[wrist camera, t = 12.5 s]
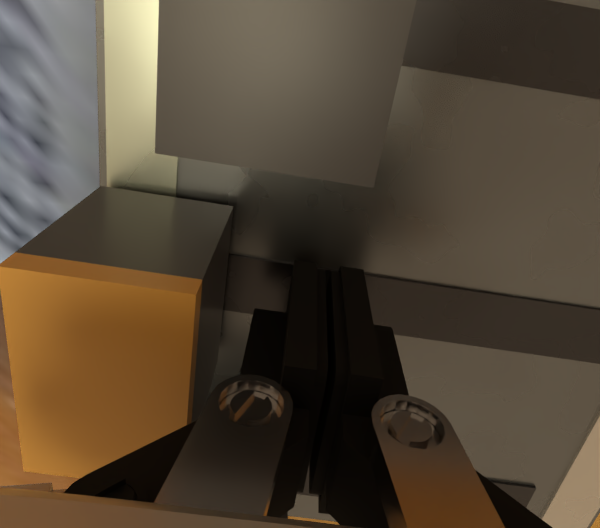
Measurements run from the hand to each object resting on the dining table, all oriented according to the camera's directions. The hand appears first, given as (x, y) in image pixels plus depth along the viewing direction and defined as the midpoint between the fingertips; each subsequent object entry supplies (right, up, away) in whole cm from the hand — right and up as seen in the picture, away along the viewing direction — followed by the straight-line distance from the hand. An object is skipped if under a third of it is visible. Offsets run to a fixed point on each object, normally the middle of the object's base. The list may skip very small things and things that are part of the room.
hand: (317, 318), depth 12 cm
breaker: (0, +6, -2) cm, 7 cm away
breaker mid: (-4, +1, 0) cm, 4 cm away
